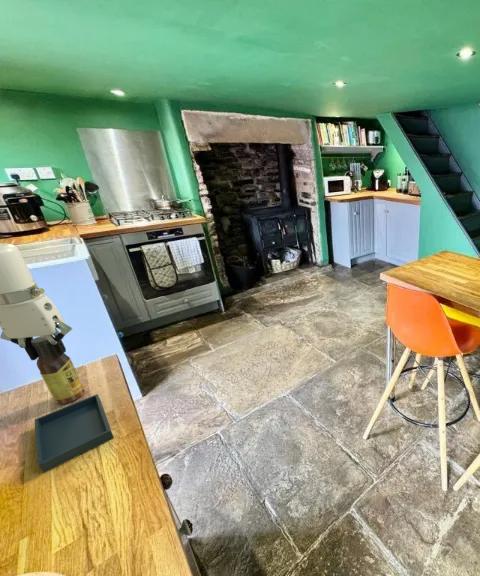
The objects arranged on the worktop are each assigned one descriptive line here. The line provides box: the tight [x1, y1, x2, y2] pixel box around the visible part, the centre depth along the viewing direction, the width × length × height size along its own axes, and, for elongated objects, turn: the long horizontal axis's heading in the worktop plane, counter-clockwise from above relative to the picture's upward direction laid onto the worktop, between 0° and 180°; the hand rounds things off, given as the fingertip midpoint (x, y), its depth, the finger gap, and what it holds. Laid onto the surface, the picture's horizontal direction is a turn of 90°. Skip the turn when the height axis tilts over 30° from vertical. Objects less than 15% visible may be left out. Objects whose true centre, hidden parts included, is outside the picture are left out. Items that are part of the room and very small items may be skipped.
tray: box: [34, 393, 115, 473], centre depth 76 cm, size 18×12×2 cm
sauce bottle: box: [31, 336, 85, 405], centre depth 83 cm, size 7×6×20 cm
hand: (49, 355), depth 81 cm, fingers closed on sauce bottle, 4 cm apart
